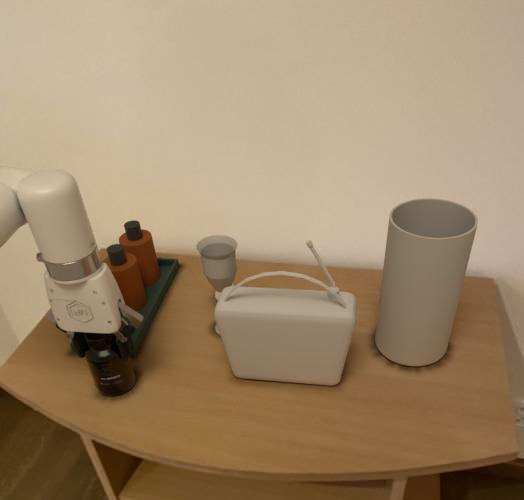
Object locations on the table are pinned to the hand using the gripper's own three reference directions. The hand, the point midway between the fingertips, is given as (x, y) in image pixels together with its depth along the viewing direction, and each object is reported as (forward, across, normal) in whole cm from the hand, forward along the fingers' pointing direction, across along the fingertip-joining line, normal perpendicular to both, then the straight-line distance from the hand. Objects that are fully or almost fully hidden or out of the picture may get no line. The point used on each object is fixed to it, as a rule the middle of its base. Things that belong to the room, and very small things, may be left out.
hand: (106, 353), depth 84 cm
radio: (+7, +29, +7) cm, 31 cm away
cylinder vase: (+7, +50, +15) cm, 53 cm away
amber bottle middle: (+7, -6, +22) cm, 24 cm away
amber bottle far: (+7, -6, +32) cm, 33 cm away
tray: (+7, -6, +22) cm, 24 cm away
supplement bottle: (+7, 0, 0) cm, 7 cm away
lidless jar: (+7, +14, +27) cm, 31 cm away
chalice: (+7, +16, +17) cm, 24 cm away
